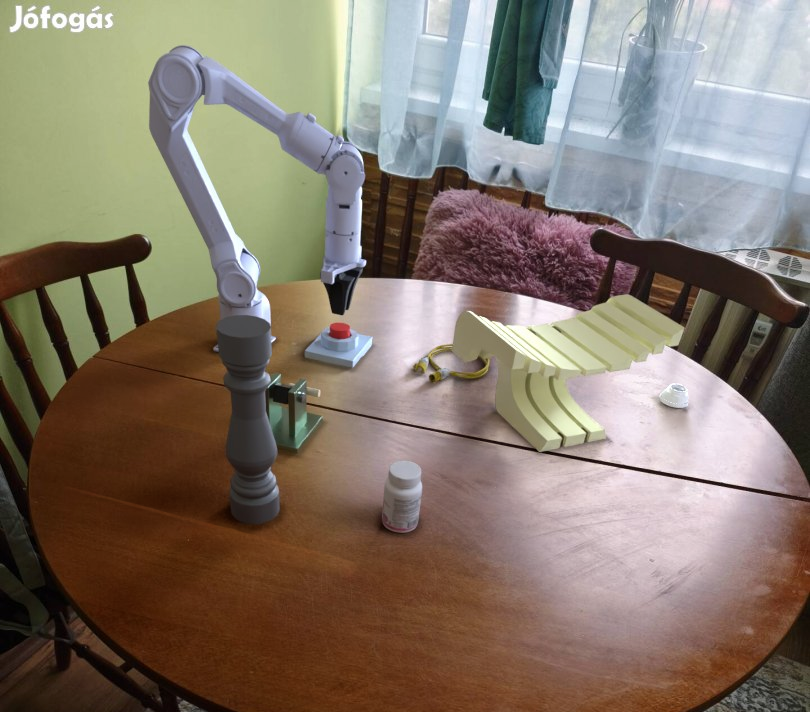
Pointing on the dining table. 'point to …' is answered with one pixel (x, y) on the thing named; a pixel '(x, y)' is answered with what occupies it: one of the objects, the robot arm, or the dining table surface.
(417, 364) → the extension cord
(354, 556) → the dining table surface
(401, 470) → the pill bottle
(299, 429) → the switch bracket
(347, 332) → the button
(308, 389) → the switch lever
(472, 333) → the slatted curved stool
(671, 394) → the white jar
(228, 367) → the candle holder
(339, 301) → the robot arm
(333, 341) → the button box
